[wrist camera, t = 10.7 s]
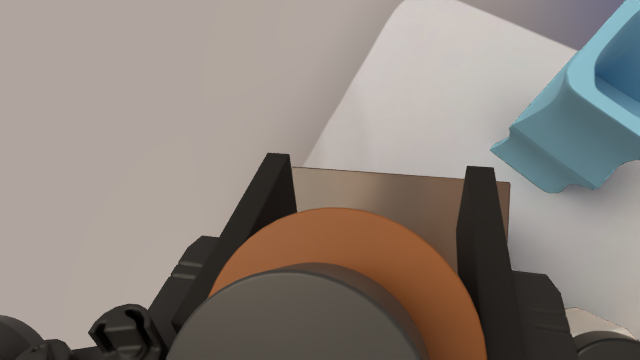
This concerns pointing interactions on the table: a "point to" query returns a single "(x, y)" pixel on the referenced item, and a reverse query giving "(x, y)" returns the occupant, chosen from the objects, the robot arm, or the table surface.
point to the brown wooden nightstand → (394, 200)
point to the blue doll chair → (583, 112)
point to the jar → (600, 338)
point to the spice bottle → (334, 296)
